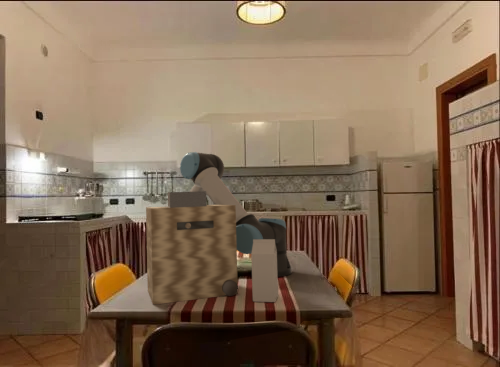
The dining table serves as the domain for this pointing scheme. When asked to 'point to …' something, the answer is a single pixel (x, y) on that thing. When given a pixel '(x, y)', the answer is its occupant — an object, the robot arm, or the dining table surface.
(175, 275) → the zigzag patterned box
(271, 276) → the milk carton
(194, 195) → the t handle
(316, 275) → the dining table surface
